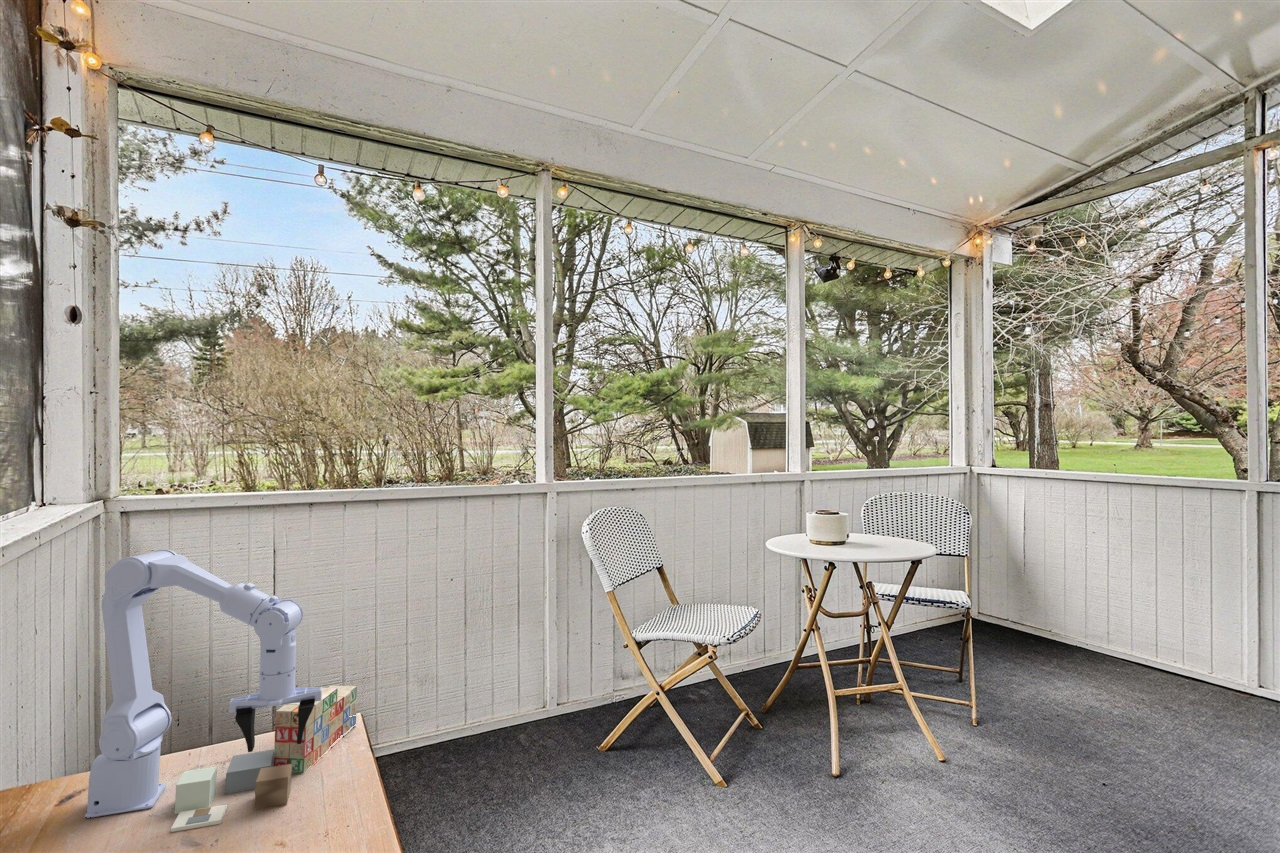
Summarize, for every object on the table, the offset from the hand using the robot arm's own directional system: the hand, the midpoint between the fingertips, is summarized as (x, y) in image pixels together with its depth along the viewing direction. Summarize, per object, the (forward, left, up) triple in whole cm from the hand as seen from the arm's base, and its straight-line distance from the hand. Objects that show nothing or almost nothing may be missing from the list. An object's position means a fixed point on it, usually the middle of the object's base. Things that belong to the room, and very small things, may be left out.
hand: (275, 745), depth 113 cm
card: (-11, -3, -10) cm, 15 cm away
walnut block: (0, 0, -10) cm, 10 cm away
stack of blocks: (+6, +19, -10) cm, 22 cm away
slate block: (-5, +9, -10) cm, 14 cm away
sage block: (-13, +3, -10) cm, 16 cm away
